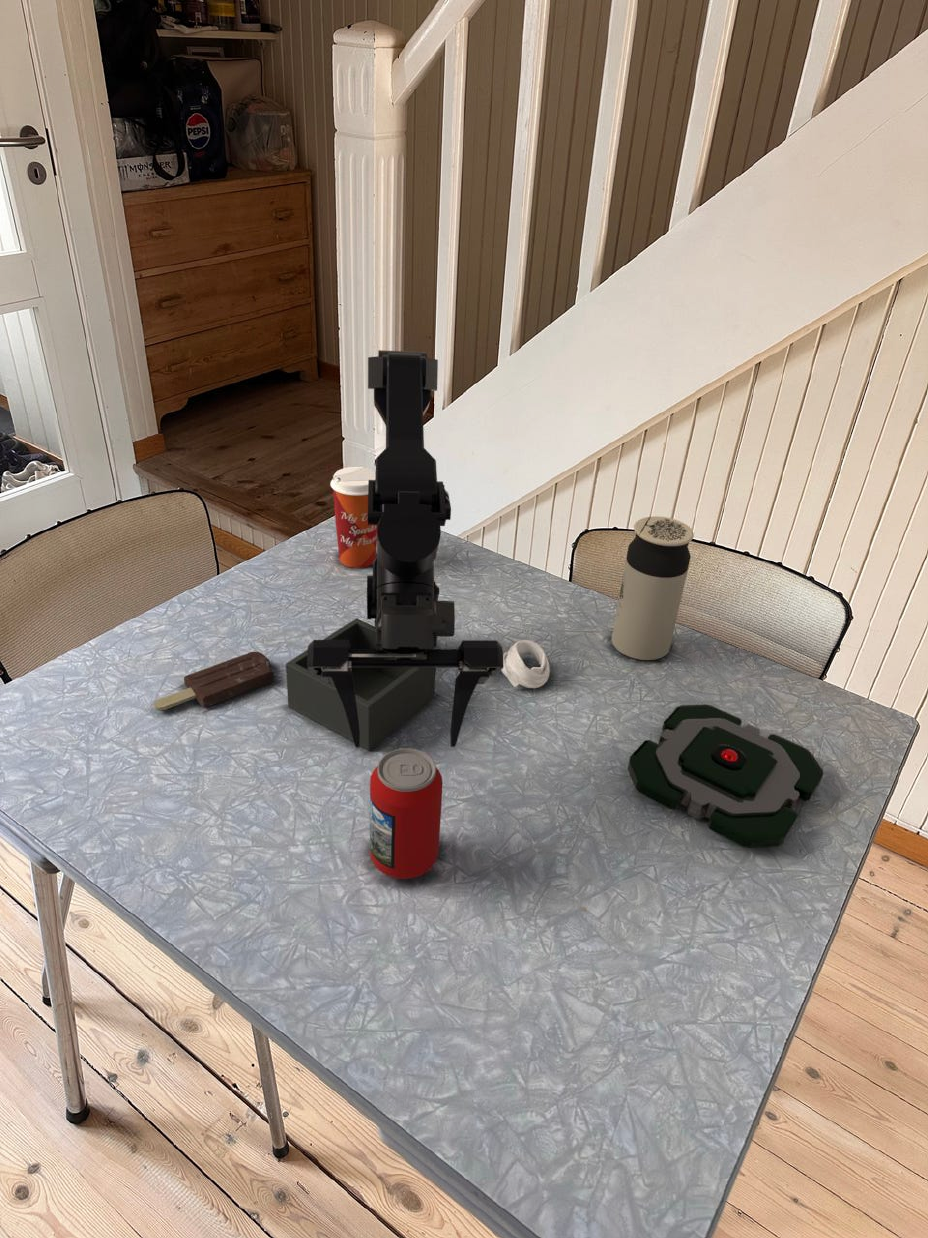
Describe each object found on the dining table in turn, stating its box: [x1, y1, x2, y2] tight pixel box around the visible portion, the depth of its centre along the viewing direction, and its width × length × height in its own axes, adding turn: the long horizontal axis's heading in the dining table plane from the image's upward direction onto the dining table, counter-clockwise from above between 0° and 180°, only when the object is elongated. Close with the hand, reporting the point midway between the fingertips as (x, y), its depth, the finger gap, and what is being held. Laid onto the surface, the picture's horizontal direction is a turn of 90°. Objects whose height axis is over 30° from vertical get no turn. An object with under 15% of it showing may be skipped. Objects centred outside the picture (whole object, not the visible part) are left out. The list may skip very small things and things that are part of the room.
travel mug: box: [611, 515, 695, 661], centre depth 115 cm, size 8×8×18 cm
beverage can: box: [369, 747, 444, 880], centre depth 83 cm, size 7×7×12 cm
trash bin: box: [285, 617, 437, 752], centre depth 104 cm, size 13×13×6 cm
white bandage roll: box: [500, 639, 551, 689], centre depth 111 cm, size 8×7×5 cm
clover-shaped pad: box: [627, 703, 824, 849], centre depth 96 cm, size 18×18×5 cm
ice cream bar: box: [153, 651, 275, 711], centre depth 106 cm, size 5×2×15 cm
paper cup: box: [330, 466, 378, 569], centre depth 131 cm, size 8×8×14 cm
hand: (405, 747), depth 83 cm, fingers open, 9 cm apart
